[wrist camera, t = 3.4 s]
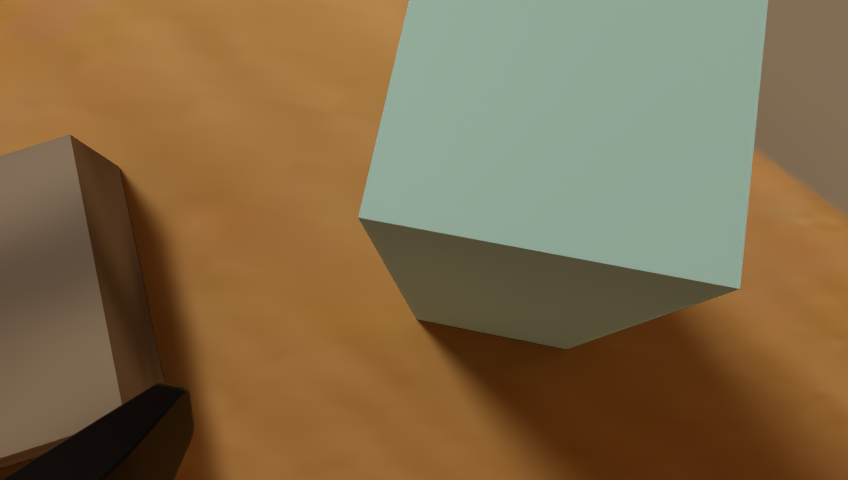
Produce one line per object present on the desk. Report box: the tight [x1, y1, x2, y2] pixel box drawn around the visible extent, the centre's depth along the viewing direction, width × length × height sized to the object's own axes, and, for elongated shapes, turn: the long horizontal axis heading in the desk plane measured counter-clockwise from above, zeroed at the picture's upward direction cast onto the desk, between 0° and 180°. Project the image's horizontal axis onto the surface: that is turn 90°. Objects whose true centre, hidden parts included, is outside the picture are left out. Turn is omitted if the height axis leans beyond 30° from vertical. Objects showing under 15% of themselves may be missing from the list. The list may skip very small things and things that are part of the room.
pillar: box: [358, 0, 768, 349], centre depth 15 cm, size 5×5×13 cm
